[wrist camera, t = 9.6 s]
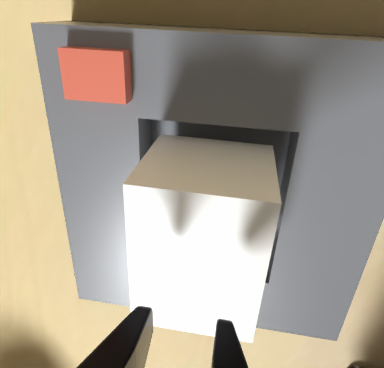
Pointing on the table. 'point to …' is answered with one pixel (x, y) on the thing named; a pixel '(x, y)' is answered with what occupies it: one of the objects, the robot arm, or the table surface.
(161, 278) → the plug
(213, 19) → the table surface
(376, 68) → the socket
